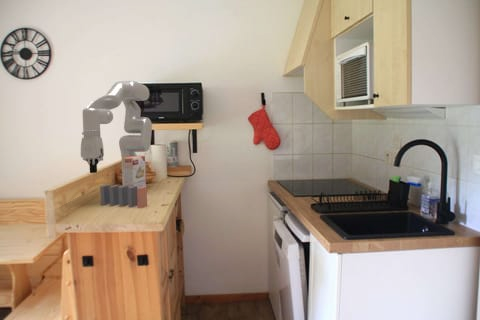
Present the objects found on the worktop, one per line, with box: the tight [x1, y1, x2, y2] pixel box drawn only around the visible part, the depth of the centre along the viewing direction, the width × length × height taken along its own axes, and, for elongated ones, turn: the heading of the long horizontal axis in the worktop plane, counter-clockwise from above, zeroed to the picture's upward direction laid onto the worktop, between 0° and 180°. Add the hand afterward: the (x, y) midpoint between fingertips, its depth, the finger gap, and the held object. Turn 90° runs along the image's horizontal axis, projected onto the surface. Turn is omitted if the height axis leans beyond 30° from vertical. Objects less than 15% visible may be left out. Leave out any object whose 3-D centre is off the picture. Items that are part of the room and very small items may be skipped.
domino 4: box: [127, 186, 138, 208], centre depth 170 cm, size 2×5×9 cm, turn 163°
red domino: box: [137, 186, 148, 209], centre depth 169 cm, size 2×5×9 cm, turn 163°
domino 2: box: [109, 184, 120, 207], centre depth 173 cm, size 2×5×9 cm, turn 163°
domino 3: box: [118, 185, 128, 207], centre depth 172 cm, size 2×5×9 cm, turn 163°
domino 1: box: [99, 184, 111, 206], centre depth 175 cm, size 2×5×9 cm, turn 163°
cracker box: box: [123, 155, 147, 188], centre depth 195 cm, size 14×6×21 cm, turn 168°
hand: (93, 172), depth 175 cm, fingers closed
